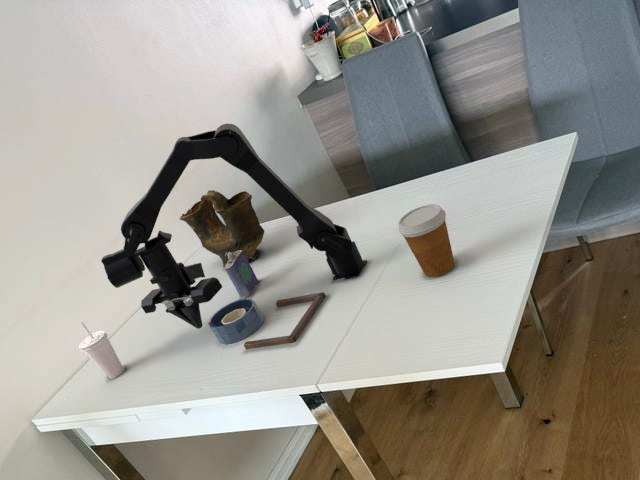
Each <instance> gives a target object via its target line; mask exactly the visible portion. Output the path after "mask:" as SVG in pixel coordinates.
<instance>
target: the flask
mask: <svg viewBox="0 0 640 480" xmlns="http://www.w3.org/2000/svg"><path fill="white" fill-rule="evenodd" d="M227 253H228V252H227ZM227 253H226V254H225V256H226V255H227V256H228V259H229V260H228V262H227V264H226V266H225V268H224V270H225V272H226V274H227V276H228V277H229V279H230V281H231V283H232V284H233V285H232V286H234V288H235V290H236V292H237V294H238V296H239V298H240V299H245V298H249V297H250V296H251V294H252V291H253V289H254V287H255V286H256V285H258V284H259V283H260V281H259V279H258V277H257V276H256V275H257V274H256V273H255V272H254V270H253V268H252V266H251V264H250V261H249V260H247V258H246V256H245V254H244V252H243V250H239V251H236V252H234V254H232V253H233V252H232V253H231V252H229V253H228V254H227Z"/></svg>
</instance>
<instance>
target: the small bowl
mask: <svg viewBox="0 0 640 480" xmlns="http://www.w3.org/2000/svg"><path fill="white" fill-rule="evenodd" d="M246 313H247V312H246V311H245V309H244V308H242V309H236V310H234V311H232V312H230V313H228V314H227V315H226V316H225V317H224V318H223V319H222V320H221V322H222V324H223V325H226V324H229V323H232V322H234V321H236V320H237V319H239V318H241V317H242V316H243V315H245V314H246Z"/></svg>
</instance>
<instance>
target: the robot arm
mask: <svg viewBox="0 0 640 480" xmlns="http://www.w3.org/2000/svg"><path fill="white" fill-rule="evenodd" d="M219 158H220V159H222V160H223V161H225V162H226V163H227V164H229V165H230V166H232V167H234V168H236V169H238V170H239V171H242V172H243V173H245V174H247V176H249V178H251V179H252V180H253V181H254V182H255V183H256V184H257V185H258V186H259V187H260V188H261V189H262V190H263V191H264V192H265V193H266V194H267V195H268V196H269V197H271V198H272V200H274V201H275V203H276V204H277V205H279V206H280V207H281V208H282V209H283V210H284V212H286V213H287V214H289V216H290V217H291V218H292V219H293V220H294V221H295V222H296V223H297V224H298V225H297V226H296V231H297V236H298V237H299V238H300V239H302V240H303V241H304V242H306V243H307V244H308V246H309V247H310V249H311V250H313V249H316V250H317V251H318V252H325V253H324V255H325V257H326V258H325V260H326V263H327V265H328V267H329V269H330V271H331V273H332V275H333V277H332V281H338V280H342V279H344V280H348V279H353V278H358V277H359V276H360V275H361V273H362V271H363V270H364V268H365V267H366V266H367V264H368V260H367V259H364V260H363V258H362V255H361V253H360V251H359V248H358V247H357V244H356V241H355V240H353V241H352V239H351V237H350V234H349V232H348V230H347V228H346V227H344V226H341V225H339V224H335V223H334V222H333V220H331V218H329V217H328V216H326V215H325V214H323V213H322V212H320V211H319V210H317V209H315V208H314V207H312V206H310V205H308V204H307V203H306V202H305V201H304V200H303V199H302V198H301V197H300V196H299V195H298V194H297V193H296V192H295V191H294V190H293V189H292V188H291V187H290V186H289V185H288V184H287V183H286V182H285V181H284V180H283V179H282V178H281V177H280V176H279V175H277V173H276V172H275V171H273V169H271V167H270V166H269V165H267V163H266V162H265V161H264V160H262V159H261V158H260V157H259V155H258V153H257V152H256V150H255V149H254V147H253V146H252V144H251V142H250V141H249V140H248V138H247V137H246V136H245V134H244V132H243V131H242V130H241V129H240V127H238V126H237V125H236V124H233V123H224V124H223V123H222V124H221V125H219V126H218V127H217V128H216V129H215V130H209V131H205V132H202V133H197V134H194V135H190V136H181V137H179V138H178V139H176V141H175V143H174V146H173V148H172V150H171V152H170V153H169V155H168V157H167V159H166V160H165V161H164V164H163V165H162V166H161V169H159V172H158V173H157V175H156V177H154V179H153V181H152V183H151V184H150V187H149V189H148V190H147V192H146V193H145V194H144V195H143V196H142V197H141V198H140V199H139V200H138V201H137V202H136V203H135V204H134V205H133V206H132V208H130V209H129V211H128V212H127V213H126V215H125V216H124V218H123V221H122V223H121V226H120V231H121V232H120V233H121V235H122V236H123V238H124V245H123V248H122V249H119V250H117V251H115V252H113V253H110V254H106V255H104V256H102V258H101V261H100V262H101V263H102V265H103V268H104V271H105V274H106V277H107V280H108V281H109V283H110V284H111V285H112V286H113V287H114V288H116V289H119V288H121V287H124V286H125V285H128V284H130V283H132V282H134V281H136V280H138V279H141V278H143V277H144V272H145V271H146V268H147V270H148V272H149V274H150V276H151V277H152V278H150V279H149V282H150V283H151V285H155V284H156V285H157V286H158V288H154V289H151V291H149V293H148V294H146V296H144V297H143V299H141V300H140V301H141V303H140V307H141V309H142V310H143V311H144V312H143V313H145V314H151V313H155V312H156V311H157V305H159V304H162V305H164V306H165V313H167V314H168V313H169V314H171V315H173V316H174V317H177V318H179V319H181V320H182V321H184V322H185V323H187V324H189V325H191V326H192V327H194V328H195V329H197V330H198V329H199V330H200V329H202V327H203V320H202V315H201V310H200V309H201V308H200V304H205V303H209V302H210V301H212V299H213V298H214V297H215V296H216V295H217V294H218V292H220V291H221V289H222V288H223V285H222V283H221V282H220V280H219V278H216V277H213V276H212V277H208V278H205V277H206V274H205V272H204V269H203V265H202V262H198V263H194V264H189V265H185V264H184V263H182V262H177V261H176V259H175V257H174V256H173V254H172V253H171V251H170V249H169V247H168V246H167V244H168V243H170V242H171V241H172V236H173V235H172V233H169V232H164V231H162V230H158V232H157V236H155V237H152V238H151V236H152V235H153V232H154V231H153V230H154V228H155V225H156V223H157V220H158V217H159V215H160V213H161V209H162V207H163V205H164V204H165V203H166V201H167V200H168V198H169V196H170V195H171V192H172V191H173V189H174V188H175V186H176V184H177V183H178V181H179V179H180V178H181V177H182V175H183V173H184V171H185V169H186V168H187V166H188V165H189V164H190V162H191V161H195V160H212V159H219ZM142 244H144V246H142V247H140V245H142ZM200 278H203V279H200ZM196 279H200V280H199V282H198V283H197V284H196V285H194V284H195V283H196ZM192 285H194V286H192Z"/></svg>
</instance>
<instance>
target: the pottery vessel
mask: <svg viewBox="0 0 640 480" xmlns="http://www.w3.org/2000/svg"><path fill="white" fill-rule="evenodd" d="M252 198H253V195H252V194H250V193H249V192H248V191H246V190H244V191H240V192H238V193H236V194H234V195H232V196H231V197H230V198H227V197H226V196H225V195H224V194H222V193H221V192H219V191H217V190H213V189H211V190H208V191H207V192H206V194H202V195H201V198H200V200H199V201H197V202H195V203H194V204H193V205H192V206H191V208H188V209H187V211H186V212H185V213H182V214H181V216H180V217H179V220H180V221H183V222H185V223H186V224H187V225H188V226H189V227H190V228H191V229H192V231H193V232H194V233H195V235H196V237H198V239H199V241H200V243H201V246H202V248H203V249H205V250H207V251H208V252H209V253H212V254H214V255H216V256H219V258H220V259H221V261H222V267H223V268H224V269H225V266H226V264H227V262H228V260H229V259H228V256H227V255H226V256H225V254H226V253H227V252H228V253H229V252H231V253H232V252H233V253H232V254H234V252H236V251H239V250H243V252H244V254H245V256H246V258H247V260H248V261H249V260H250V259H252V260H256V258H257V257H258V256H259V255H261V250H260V249H258V248H259V246H260V245H261V243H262V241H263V238H264V235H265V229H264V228H263V226H262V225H261V224H260V221H259V218H258V215H257V213H256V211H255V209H254V207H253V204H252ZM219 215H220V217H221V218H222V220H223V221H222V220H221V218H220V217H219ZM228 253H227V254H228Z"/></svg>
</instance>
